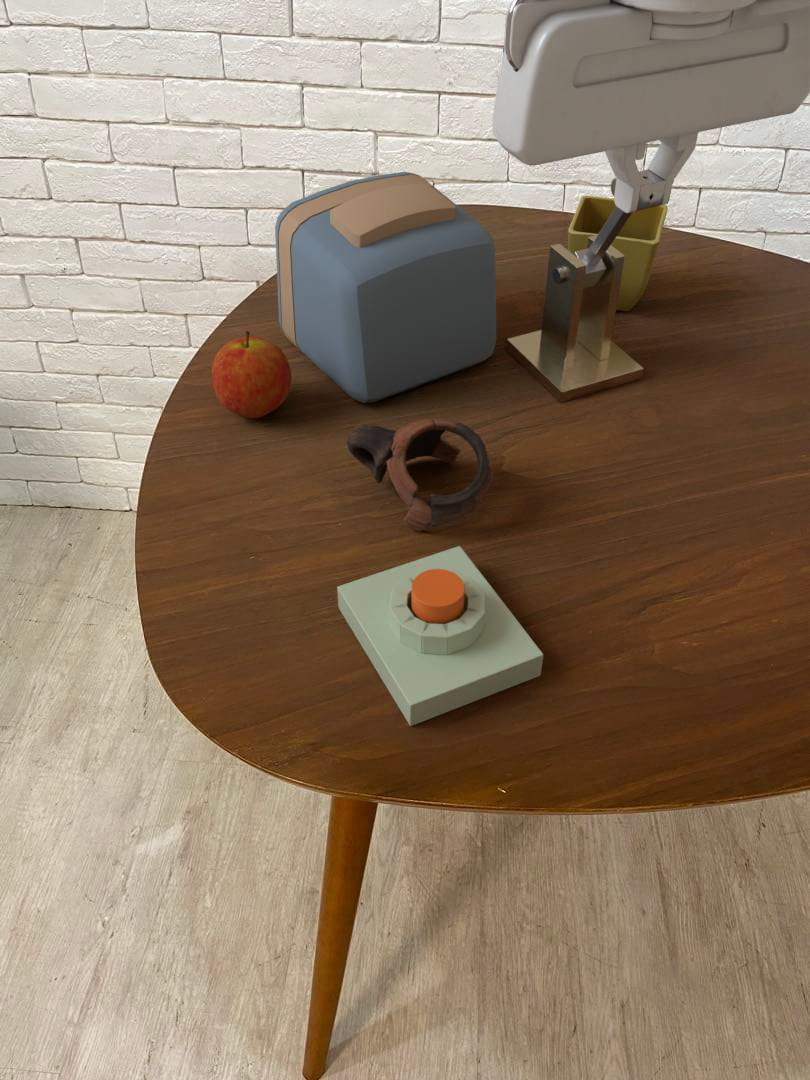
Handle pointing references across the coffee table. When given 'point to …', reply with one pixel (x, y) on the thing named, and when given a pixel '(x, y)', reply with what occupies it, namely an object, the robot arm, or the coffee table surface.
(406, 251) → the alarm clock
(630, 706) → the coffee table surface
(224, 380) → the fruit
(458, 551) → the button block
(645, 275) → the flower pot
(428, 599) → the button
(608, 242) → the lever
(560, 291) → the bracket
